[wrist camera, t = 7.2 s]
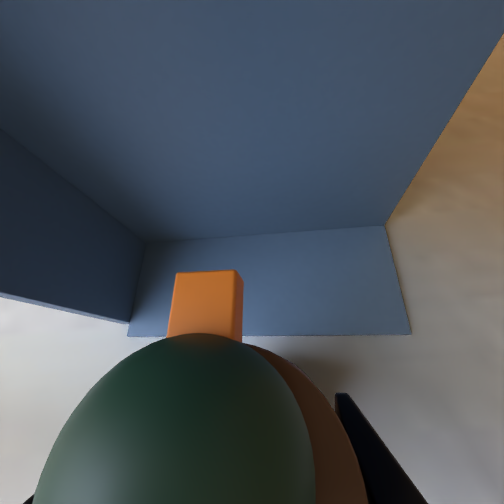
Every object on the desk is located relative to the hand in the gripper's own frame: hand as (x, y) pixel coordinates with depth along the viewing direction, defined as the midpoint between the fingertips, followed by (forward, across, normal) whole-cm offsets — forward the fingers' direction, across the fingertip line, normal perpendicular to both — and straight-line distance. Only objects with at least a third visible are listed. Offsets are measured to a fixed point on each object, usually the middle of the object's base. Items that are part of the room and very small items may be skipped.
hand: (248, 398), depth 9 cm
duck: (+4, 0, +6) cm, 7 cm away
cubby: (+11, +2, 0) cm, 11 cm away
